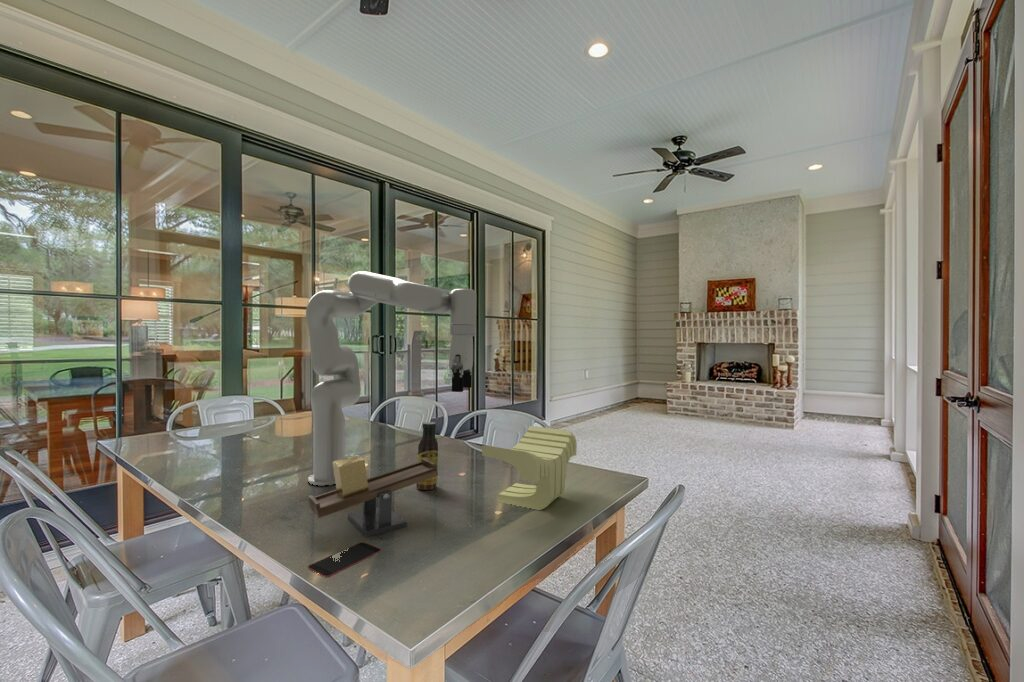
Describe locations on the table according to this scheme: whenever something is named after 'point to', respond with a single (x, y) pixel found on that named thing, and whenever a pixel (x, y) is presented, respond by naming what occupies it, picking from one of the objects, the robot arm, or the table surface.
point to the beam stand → (377, 516)
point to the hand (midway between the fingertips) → (461, 389)
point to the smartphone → (344, 559)
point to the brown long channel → (374, 487)
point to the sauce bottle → (428, 453)
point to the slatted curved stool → (536, 466)
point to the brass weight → (350, 476)
